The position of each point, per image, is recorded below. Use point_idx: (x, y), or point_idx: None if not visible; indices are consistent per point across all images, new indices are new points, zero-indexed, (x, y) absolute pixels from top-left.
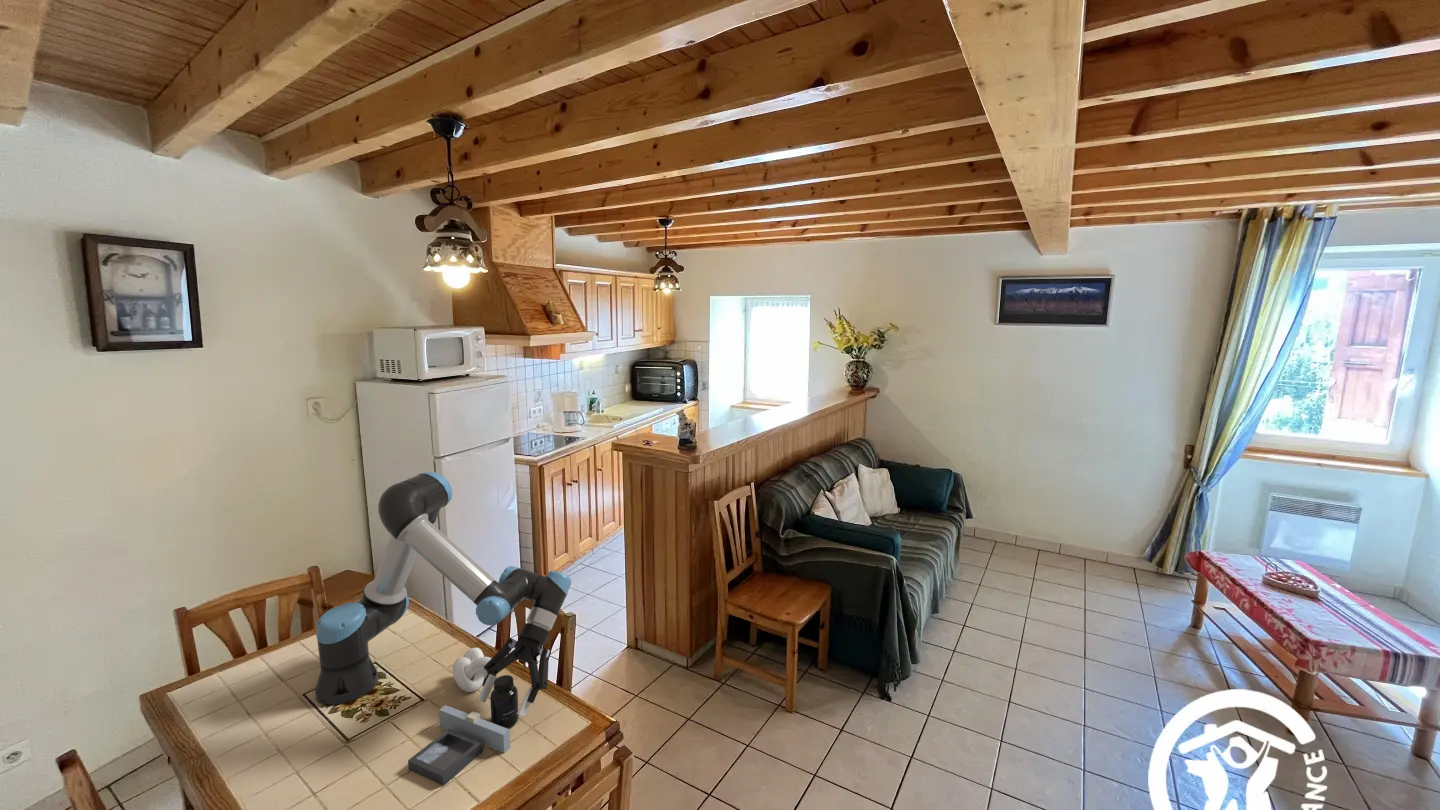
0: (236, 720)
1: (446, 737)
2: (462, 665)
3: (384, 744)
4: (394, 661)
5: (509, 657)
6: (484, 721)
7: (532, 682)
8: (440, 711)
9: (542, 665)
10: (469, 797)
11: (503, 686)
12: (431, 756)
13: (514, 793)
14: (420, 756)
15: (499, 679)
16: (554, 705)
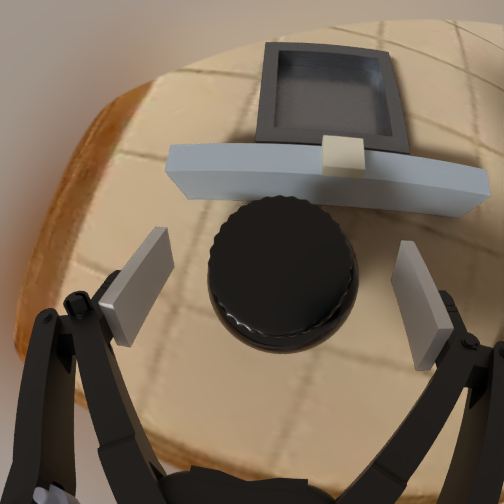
0: None
1: (389, 136)
2: None
3: (495, 117)
4: None
5: (380, 465)
6: (289, 167)
7: (92, 327)
8: (479, 170)
9: (24, 410)
10: (190, 65)
11: (237, 214)
12: (373, 99)
13: (107, 110)
14: (379, 68)
15: (318, 259)
16: (171, 418)
